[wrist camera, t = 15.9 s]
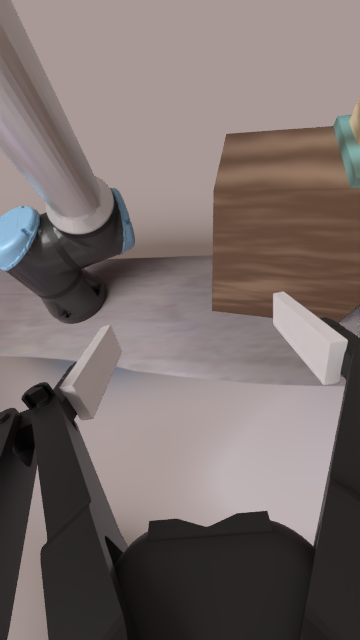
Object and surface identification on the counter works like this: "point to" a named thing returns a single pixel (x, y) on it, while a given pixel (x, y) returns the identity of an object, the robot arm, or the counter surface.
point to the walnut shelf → (288, 221)
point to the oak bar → (356, 122)
